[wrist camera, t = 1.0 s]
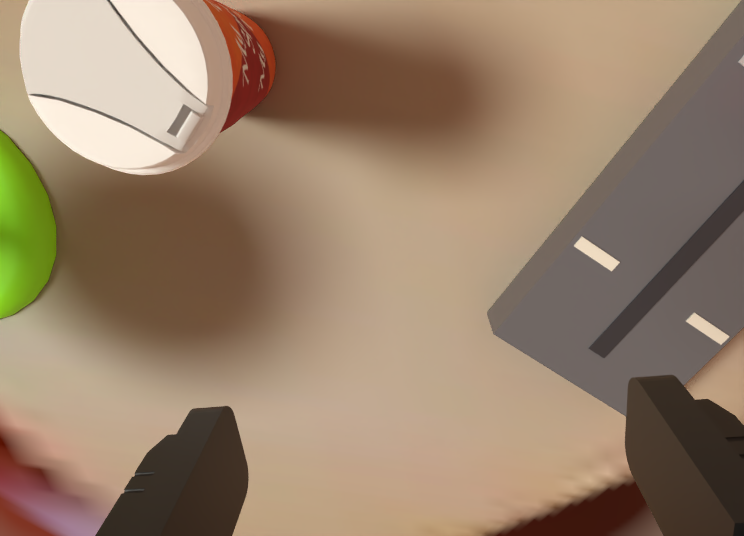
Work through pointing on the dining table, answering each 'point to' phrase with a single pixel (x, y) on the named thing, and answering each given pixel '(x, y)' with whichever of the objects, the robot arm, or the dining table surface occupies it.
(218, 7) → the paper cup
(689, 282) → the console
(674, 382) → the robot arm
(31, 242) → the wineglass
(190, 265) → the dining table surface
